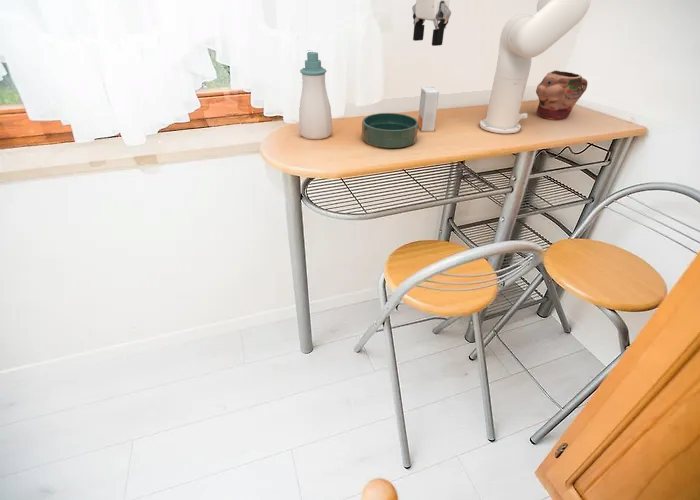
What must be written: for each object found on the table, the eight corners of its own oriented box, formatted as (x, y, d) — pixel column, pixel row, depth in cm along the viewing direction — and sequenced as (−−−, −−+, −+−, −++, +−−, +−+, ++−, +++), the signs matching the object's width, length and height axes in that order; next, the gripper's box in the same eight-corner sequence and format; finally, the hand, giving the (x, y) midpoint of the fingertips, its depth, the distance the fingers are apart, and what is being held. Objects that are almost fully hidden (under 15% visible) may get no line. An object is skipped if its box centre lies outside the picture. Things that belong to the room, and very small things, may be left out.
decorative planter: (561, 107, 147) (574, 67, 139) (589, 117, 138) (605, 74, 130) (520, 113, 141) (531, 71, 133) (546, 124, 132) (560, 79, 124)
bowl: (397, 127, 128) (398, 110, 125) (427, 144, 116) (429, 125, 113) (352, 135, 122) (352, 117, 119) (379, 153, 110) (380, 134, 107)
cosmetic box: (417, 125, 130) (421, 86, 123) (429, 125, 130) (434, 86, 123) (421, 131, 125) (425, 91, 118) (434, 131, 125) (439, 91, 118)
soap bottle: (326, 128, 127) (324, 49, 114) (336, 138, 120) (335, 55, 107) (296, 131, 124) (290, 51, 111) (304, 142, 117) (299, 57, 104)
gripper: (467, -30, 99) (456, 46, 109) (428, -31, 112) (421, 38, 122) (442, -30, 97) (433, 48, 107) (405, -31, 110) (400, 39, 120)
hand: (427, 42), depth 115 cm, fingers open, 9 cm apart
